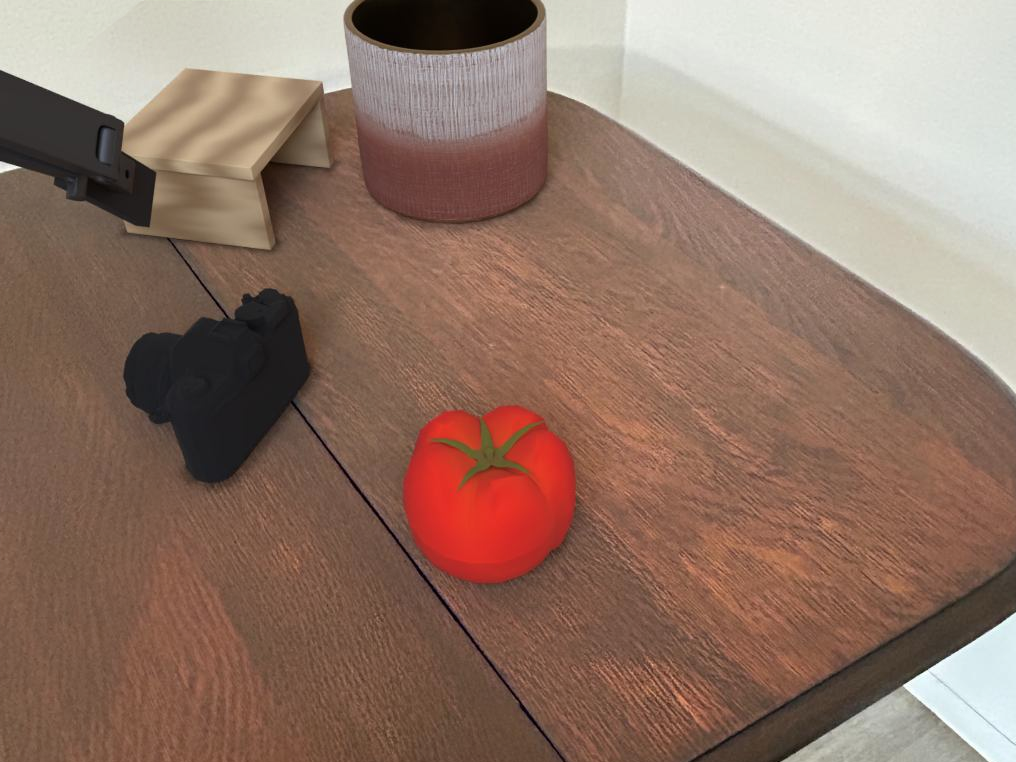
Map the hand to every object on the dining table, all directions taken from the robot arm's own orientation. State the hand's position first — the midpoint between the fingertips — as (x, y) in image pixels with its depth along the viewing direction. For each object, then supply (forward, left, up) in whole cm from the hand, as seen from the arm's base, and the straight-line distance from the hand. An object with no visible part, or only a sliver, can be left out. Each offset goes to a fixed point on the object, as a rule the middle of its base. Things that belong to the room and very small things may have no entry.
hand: (22, 185), depth 51 cm
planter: (+8, +48, -24) cm, 54 cm away
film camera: (0, +11, -24) cm, 27 cm away
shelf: (-12, +41, -24) cm, 49 cm away
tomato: (+23, +3, -24) cm, 34 cm away
